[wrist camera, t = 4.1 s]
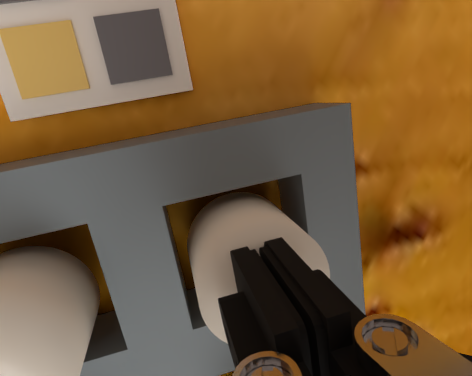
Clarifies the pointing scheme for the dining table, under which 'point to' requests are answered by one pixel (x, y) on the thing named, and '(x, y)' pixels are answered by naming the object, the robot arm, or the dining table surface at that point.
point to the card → (88, 54)
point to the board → (159, 228)
